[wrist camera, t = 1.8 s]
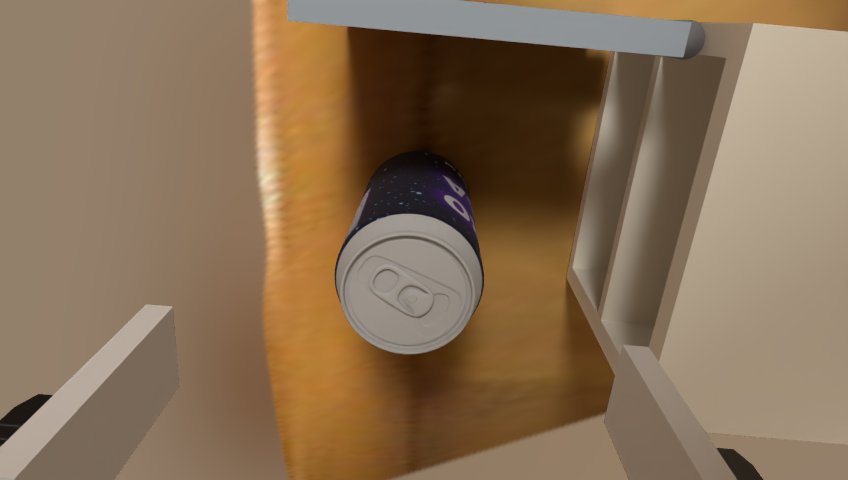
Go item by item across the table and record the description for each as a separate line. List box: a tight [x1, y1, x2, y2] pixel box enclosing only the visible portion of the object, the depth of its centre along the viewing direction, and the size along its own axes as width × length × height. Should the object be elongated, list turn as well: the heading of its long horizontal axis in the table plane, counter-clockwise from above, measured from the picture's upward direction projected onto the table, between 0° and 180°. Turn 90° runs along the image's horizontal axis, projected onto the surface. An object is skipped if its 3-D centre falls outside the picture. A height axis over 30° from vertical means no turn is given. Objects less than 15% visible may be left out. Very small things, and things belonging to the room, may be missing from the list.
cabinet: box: [566, 22, 848, 445], centre depth 25 cm, size 14×12×13 cm
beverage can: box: [335, 151, 484, 354], centre depth 26 cm, size 6×6×12 cm
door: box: [288, 0, 705, 60], centre depth 22 cm, size 2×13×12 cm, turn 85°
